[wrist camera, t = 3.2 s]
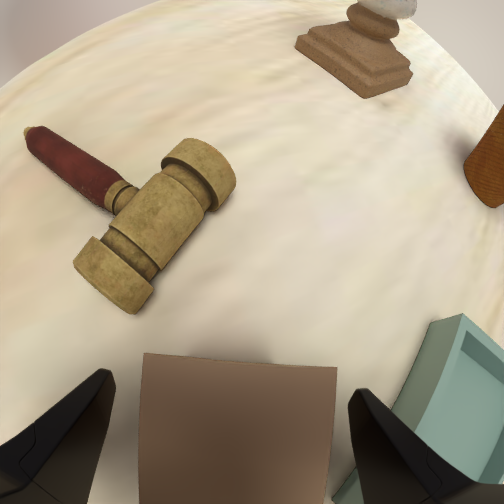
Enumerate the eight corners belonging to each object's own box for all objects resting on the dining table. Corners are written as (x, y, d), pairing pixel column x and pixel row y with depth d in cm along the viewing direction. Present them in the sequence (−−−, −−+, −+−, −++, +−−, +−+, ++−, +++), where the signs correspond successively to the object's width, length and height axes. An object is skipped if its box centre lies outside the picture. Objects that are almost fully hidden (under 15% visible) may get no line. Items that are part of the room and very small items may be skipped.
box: (445, 524, 11) (469, 535, 8) (331, 499, 13) (353, 521, 10) (513, 389, 16) (539, 386, 13) (430, 322, 18) (462, 313, 14)
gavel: (-21, 155, 16) (56, 80, 19) (2, 182, 20) (71, 112, 23) (114, 305, 12) (238, 155, 16) (143, 323, 16) (237, 200, 20)
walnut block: (267, 444, 14) (319, 523, 5) (180, 438, 14) (140, 515, 5) (273, 363, 16) (337, 367, 7) (185, 356, 16) (143, 352, 7)
